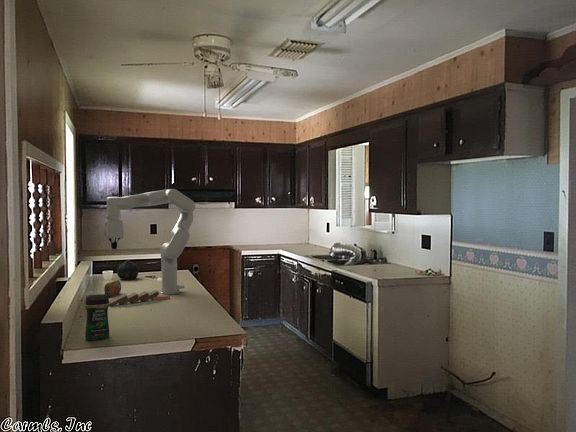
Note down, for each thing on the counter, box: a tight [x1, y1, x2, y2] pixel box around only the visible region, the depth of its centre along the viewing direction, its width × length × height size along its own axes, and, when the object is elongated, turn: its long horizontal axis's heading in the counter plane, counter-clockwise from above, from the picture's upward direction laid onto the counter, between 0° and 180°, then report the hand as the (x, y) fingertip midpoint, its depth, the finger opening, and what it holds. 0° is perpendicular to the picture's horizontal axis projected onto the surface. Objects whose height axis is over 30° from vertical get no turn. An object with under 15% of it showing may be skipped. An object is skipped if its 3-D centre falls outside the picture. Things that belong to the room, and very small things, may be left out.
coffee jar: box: [84, 293, 110, 341], centre depth 207 cm, size 10×8×19 cm
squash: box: [116, 259, 139, 281], centre depth 354 cm, size 14×15×15 cm
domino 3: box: [130, 291, 149, 304], centre depth 276 cm, size 2×5×10 cm
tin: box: [104, 280, 122, 298], centre depth 297 cm, size 15×3×8 cm, turn 168°
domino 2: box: [119, 292, 139, 305], centre depth 272 cm, size 2×5×10 cm
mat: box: [108, 299, 160, 310], centre depth 271 cm, size 32×12×1 cm, turn 129°
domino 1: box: [109, 293, 128, 307], centre depth 268 cm, size 2×5×10 cm
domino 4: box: [140, 289, 160, 302], centre depth 279 cm, size 2×5×10 cm
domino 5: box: [150, 294, 171, 301], centre depth 284 cm, size 2×5×10 cm
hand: (114, 248), depth 288 cm, fingers closed
